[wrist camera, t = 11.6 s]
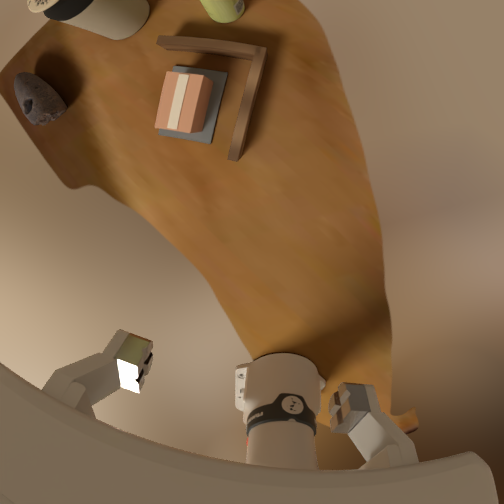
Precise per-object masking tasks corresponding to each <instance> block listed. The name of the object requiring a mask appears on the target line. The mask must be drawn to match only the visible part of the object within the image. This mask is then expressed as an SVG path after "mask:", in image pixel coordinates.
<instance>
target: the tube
mask: <svg viewBox="0 0 504 504" xmlns="http://www.w3.org/2000/svg"><path fill="white" fill-rule="evenodd" d="M200 1H201V3H202V5H203V6H204V8H205V9H206V11H207V13H208V14H209V16H210V17H211V18H212V19H213V20H214V21H217V22H220V23H229V22H232V21H235V20H237V19H238V18H239V17H240V16H241V15H242V14H243V12H244V9H245V6H244V2H243V0H200Z"/></svg>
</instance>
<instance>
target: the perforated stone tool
mask: <svg viewBox="0 0 504 504" xmlns="http://www.w3.org/2000/svg"><path fill="white" fill-rule="evenodd" d="M14 89H15V94H16V97H17V99H18V102H19V104H20V106H21V109H22V111H23V113H24V114H25V116H26V117H27V118H28V119H29V121H30V122H31V123H32V124H34V125H39V124H42V125H46V124H47V123H48V122H49V121H50V120H56V119H57V118H58V117H59V116H60V115H62V114H63V113H64V112H65V111H66V109H67V106H66V104H65V103H64V101H63V100H62V98H61V97H60V96H59V94H58V93H57V92H56V91H55V90H54V89H53V88H52V87H51V86H50V85H49V84H47V83H46V82H45V81H43V80H42V79H41V78H40V77H38V76H36V75H34V74H32V73H27V72H23V73H19V74H17V75H16V77H15V80H14Z"/></svg>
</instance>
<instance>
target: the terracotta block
mask: <svg viewBox="0 0 504 504" xmlns="http://www.w3.org/2000/svg"><path fill="white" fill-rule="evenodd" d="M213 83H214V82H213V81H212V80H210V79H209V78H207V77H205V76H204V75H197V74H189V73H179V72H168V71H167V73H166V77H165V81H164V85H163V89H162V94H161V98H160V103H159V108H158V113H157V118H156V123H155V128H160V129H167V130H173V131H180V132H185V133H196V132H202V129H203V125H204V120H205V116H206V111H207V107H208V103H209V99H210V95H211V91H212V87H213Z"/></svg>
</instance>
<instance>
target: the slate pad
mask: <svg viewBox="0 0 504 504" xmlns="http://www.w3.org/2000/svg"><path fill="white" fill-rule="evenodd" d="M172 72H179V73H189V74H197V75H204V76H205V77H207V78H209V79H210V80H212V81H213V82H214V83H213V87H212V91H211V95H210V99H209V103H208V107H207V111H206V116H205V120H204V125H203V129H202V132H196V133H185V132H180V131H173V130H167V129H159V134H158V135H163V136H170V137H176V138H181V139H187V140H192V141H198V142H203V143H208V144H211V141H212V137H213V132H214V128H215V123H216V119H217V115H218V111H219V107H220V103H221V99H222V95H223V91H224V87H225V83H226V79H227V75H228V73H226V72H220V71H214V70H207V69H199V68H190V67H180V66H174V67H173V70H172Z"/></svg>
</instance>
